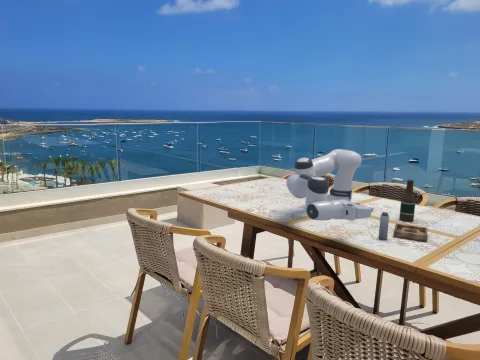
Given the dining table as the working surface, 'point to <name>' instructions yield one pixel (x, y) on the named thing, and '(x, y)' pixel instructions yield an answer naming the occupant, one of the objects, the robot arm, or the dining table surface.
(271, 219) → the dining table surface
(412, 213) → the beer bottle
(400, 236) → the walnut box
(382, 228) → the grey capped bottle
